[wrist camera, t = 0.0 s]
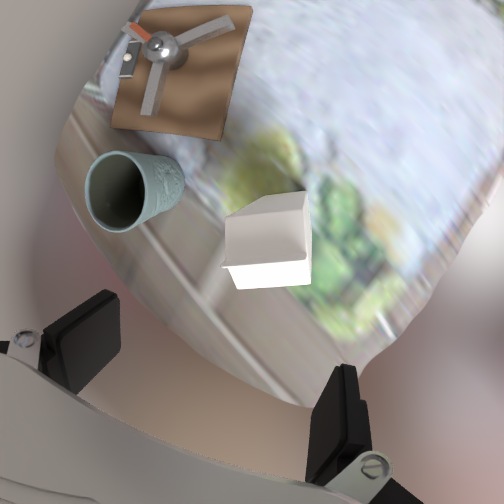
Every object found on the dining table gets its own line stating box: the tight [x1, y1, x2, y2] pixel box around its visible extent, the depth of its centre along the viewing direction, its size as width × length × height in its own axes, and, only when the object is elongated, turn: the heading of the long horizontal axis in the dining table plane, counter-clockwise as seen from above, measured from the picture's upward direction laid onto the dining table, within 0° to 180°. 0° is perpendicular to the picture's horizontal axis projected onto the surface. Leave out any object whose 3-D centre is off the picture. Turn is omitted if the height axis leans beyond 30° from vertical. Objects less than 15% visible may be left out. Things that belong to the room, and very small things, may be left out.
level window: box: [119, 40, 142, 79], centre depth 36 cm, size 7×2×1 cm, turn 167°
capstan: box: [121, 15, 235, 117], centre depth 32 cm, size 16×18×6 cm
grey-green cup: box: [85, 150, 185, 232], centre depth 37 cm, size 10×10×12 cm
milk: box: [221, 191, 312, 289], centre depth 30 cm, size 6×6×22 cm
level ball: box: [123, 53, 132, 61], centre depth 35 cm, size 1×1×1 cm
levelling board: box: [110, 5, 253, 141], centre depth 36 cm, size 22×19×2 cm
